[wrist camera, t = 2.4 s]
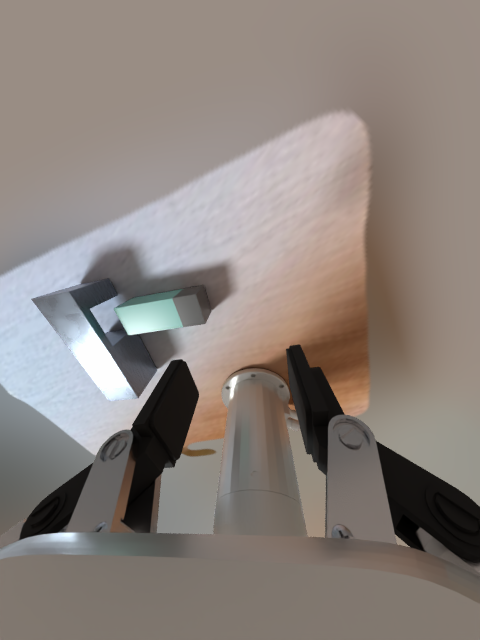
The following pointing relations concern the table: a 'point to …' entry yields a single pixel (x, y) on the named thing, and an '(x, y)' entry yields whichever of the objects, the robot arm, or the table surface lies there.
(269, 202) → the table surface
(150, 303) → the plug
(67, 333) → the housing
